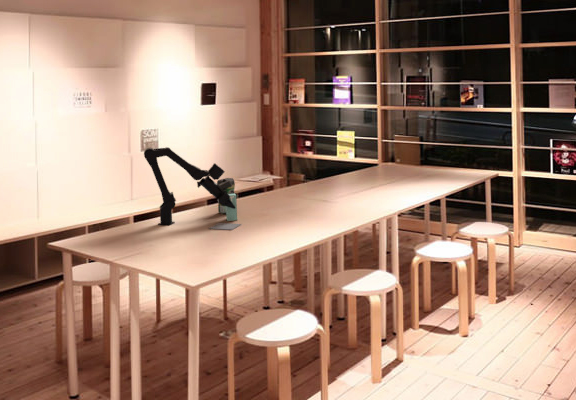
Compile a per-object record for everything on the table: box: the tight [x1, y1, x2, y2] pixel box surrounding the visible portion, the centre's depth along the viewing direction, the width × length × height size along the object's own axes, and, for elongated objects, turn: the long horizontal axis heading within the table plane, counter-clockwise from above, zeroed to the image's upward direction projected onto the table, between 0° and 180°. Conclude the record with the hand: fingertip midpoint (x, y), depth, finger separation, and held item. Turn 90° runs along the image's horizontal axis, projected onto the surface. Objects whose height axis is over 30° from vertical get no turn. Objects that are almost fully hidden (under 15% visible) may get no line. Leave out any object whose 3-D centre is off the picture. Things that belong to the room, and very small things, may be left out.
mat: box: [208, 222, 242, 231], centre depth 343 cm, size 12×12×1 cm
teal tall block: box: [225, 193, 238, 222], centre depth 359 cm, size 5×5×13 cm
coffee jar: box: [216, 177, 236, 215], centre depth 377 cm, size 10×8×19 cm
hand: (233, 206), depth 359 cm, fingers open, 8 cm apart
